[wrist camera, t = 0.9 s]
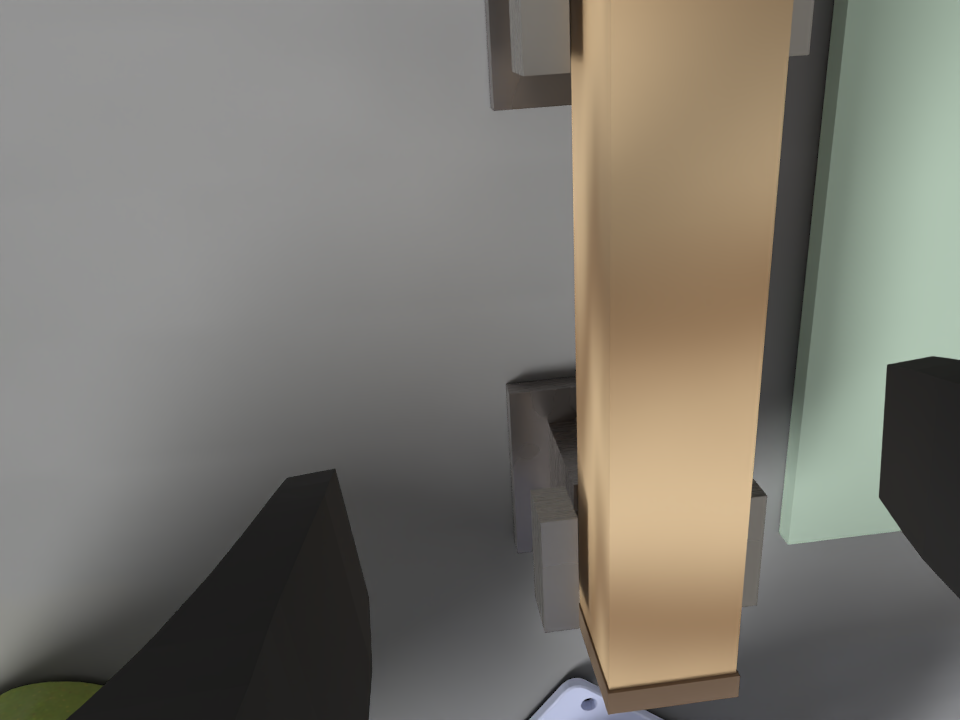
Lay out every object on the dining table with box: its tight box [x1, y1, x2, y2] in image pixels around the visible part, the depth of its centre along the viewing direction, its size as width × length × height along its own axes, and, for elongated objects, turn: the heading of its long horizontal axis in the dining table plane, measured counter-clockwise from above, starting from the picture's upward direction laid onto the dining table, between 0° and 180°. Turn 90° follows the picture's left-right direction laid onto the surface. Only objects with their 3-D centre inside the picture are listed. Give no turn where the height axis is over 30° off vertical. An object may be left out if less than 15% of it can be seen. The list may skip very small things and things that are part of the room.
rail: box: [570, 0, 794, 715], centre depth 15 cm, size 17×3×3 cm, turn 4°
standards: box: [485, 0, 814, 633], centre depth 18 cm, size 17×5×5 cm, turn 4°
